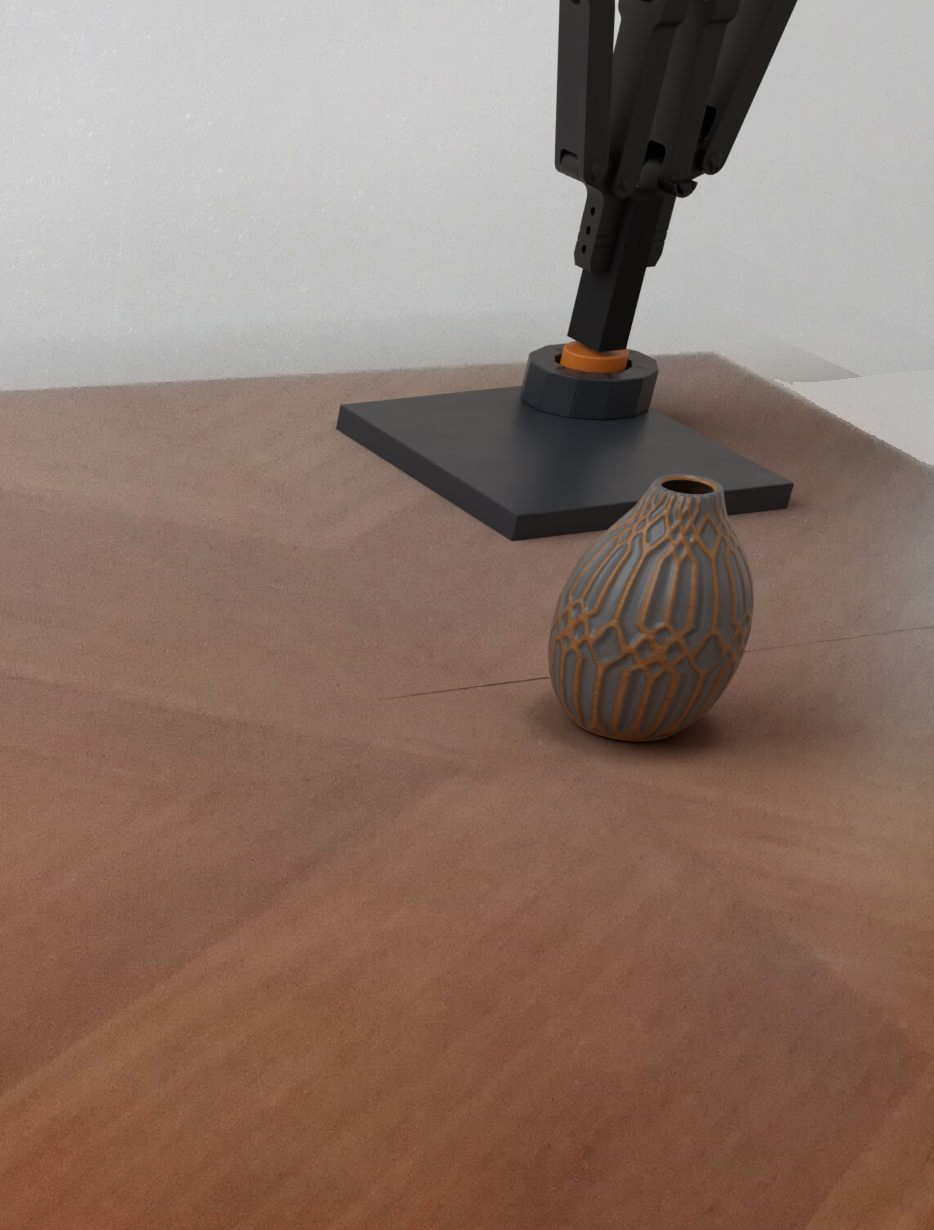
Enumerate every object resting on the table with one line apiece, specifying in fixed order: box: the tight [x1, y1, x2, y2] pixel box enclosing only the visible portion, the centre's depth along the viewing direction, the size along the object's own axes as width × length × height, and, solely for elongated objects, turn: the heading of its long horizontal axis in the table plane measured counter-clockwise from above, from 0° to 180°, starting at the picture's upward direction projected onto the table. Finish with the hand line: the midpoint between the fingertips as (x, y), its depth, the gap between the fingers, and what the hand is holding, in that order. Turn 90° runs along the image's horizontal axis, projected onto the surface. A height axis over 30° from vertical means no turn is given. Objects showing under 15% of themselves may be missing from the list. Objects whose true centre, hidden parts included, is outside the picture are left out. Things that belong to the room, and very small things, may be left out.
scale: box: [335, 342, 795, 542], centre depth 114 cm, size 16×14×3 cm
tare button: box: [560, 340, 629, 373], centre depth 118 cm, size 3×3×2 cm
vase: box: [547, 474, 755, 742], centre depth 91 cm, size 7×7×9 cm
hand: (596, 342), depth 117 cm, fingers closed
